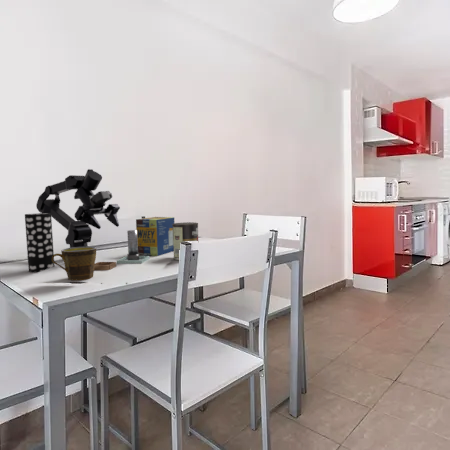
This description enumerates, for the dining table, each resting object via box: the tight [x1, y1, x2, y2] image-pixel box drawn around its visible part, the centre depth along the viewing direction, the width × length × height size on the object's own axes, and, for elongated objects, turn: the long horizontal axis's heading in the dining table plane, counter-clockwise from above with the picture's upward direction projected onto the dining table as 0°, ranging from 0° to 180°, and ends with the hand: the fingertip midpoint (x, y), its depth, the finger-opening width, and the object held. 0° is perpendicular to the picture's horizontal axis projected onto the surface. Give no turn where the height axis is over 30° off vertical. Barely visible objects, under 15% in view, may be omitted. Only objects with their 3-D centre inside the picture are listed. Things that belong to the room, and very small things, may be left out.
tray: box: [116, 255, 150, 264], centre depth 142 cm, size 10×10×2 cm
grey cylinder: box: [126, 229, 140, 260], centre depth 141 cm, size 4×4×12 cm
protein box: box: [135, 216, 175, 257], centre depth 166 cm, size 10×15×16 cm
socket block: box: [94, 261, 117, 271], centre depth 129 cm, size 7×7×2 cm
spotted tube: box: [24, 212, 55, 273], centre depth 133 cm, size 8×8×20 cm
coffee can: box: [172, 221, 199, 261], centre depth 150 cm, size 10×10×14 cm
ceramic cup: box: [52, 246, 97, 285], centre depth 113 cm, size 13×10×10 cm
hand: (109, 227), depth 146 cm, fingers open, 9 cm apart
